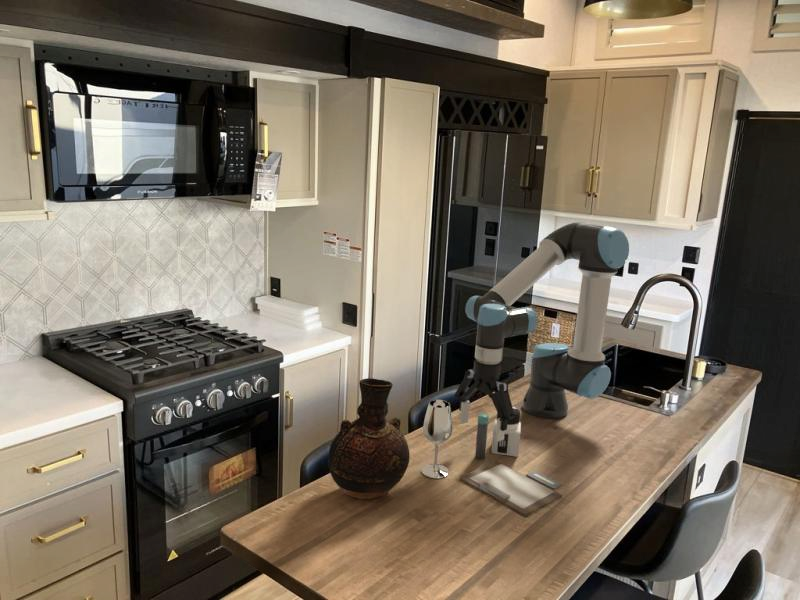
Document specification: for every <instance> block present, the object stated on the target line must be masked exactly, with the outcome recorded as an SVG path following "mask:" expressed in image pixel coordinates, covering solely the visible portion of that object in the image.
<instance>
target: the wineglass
mask: <svg viewBox="0 0 800 600" xmlns="http://www.w3.org/2000/svg"><path fill="white" fill-rule="evenodd" d="M451 409H452V408H451V404H450V402H448V401H447V400H444V399H433V400H430V401H429V403H428V406H427V409H426V413H425V415H424V421H423V428H422V429H423V434H424V436H425V438H426V440H428V441H429V442H430V443H432V444H434V462H433V463H428V464H425V465H424V466H422V467H421V470H420V472H421V474H423V475H424V476H425V477H428V478H431V479H444V478H446V477H447V476H448V475H449V474H450V472H449V469H448V468H447V467H446V466H444V465H442V464H438V453H439V451H438V450H439V446H440V445H441V444H444V443H446V442H447V441H448V440H449V439H450V438H451V436H452V434H453V416H452V410H451Z"/></svg>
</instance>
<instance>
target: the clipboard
mask: <svg viewBox="0 0 800 600" xmlns="http://www.w3.org/2000/svg"><path fill="white" fill-rule="evenodd" d="M459 480H460V481H462V482H464V483H466V484H467V485H468V486H470V487H472V488H474V489H475V490H478V491H479V492H481V493H482V494H484V495H486V496H488V497H490V498H491V499H493V500H495V501H497V502H499V503H500V504H502V505H504V506H505V507H507V508H509V509H510V510H512V511H514V512H515V513H517V514H519V515H521V516H523V517H525V518H527V517H528V516H530V515H532V514H534V513H536V512H538V511H539V510H541V509H543V508H544V507H546V506H548V505H551V504H552V503H553V502H556V501H557V500H559V499H561V498H563V494H561V493H559V492H557V491H555V490H553V489H551V488H549V487H547V486H545V485H543V484H542V483H540V482H538V481H536V480H534V479H532V478H530V477H528V476H526V475H524V474H523V473H520V472H518V471H517V470H515V469H513V468H511V467H509V466H507V465H505V464H503V463H501V462H500V461H495V462H492V463H490V464H488V465H485V466H483V467H481V468H478V469H476V470H474V471H471V472H469V473H468V474H465V475H463V476H460V477H459Z"/></svg>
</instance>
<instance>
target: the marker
mask: <svg viewBox="0 0 800 600" xmlns="http://www.w3.org/2000/svg"><path fill="white" fill-rule="evenodd" d="M489 419H490V416H489V415H488V414H487V413H478V415H477V427H476V428H477V429H476V440H475V441H476V442H475V453H474V458H475V460H478V461H484V460H485V458H486V450H487V449H486V448H487V437H488V425H489Z"/></svg>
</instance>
